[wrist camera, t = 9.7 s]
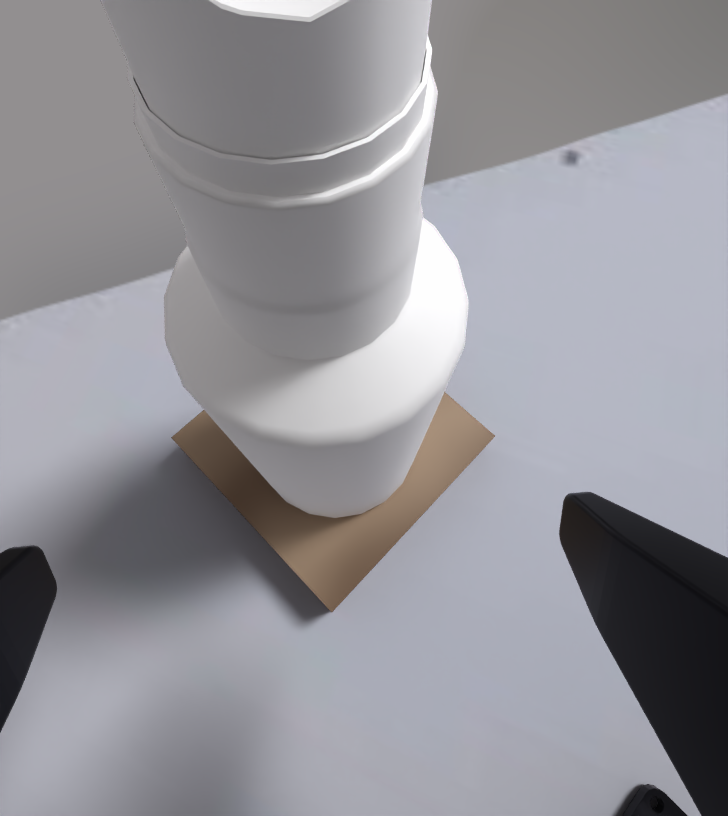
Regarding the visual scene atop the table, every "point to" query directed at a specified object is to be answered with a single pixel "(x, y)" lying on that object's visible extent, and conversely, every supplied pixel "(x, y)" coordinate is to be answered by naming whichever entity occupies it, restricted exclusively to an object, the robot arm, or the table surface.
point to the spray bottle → (301, 231)
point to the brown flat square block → (345, 536)
